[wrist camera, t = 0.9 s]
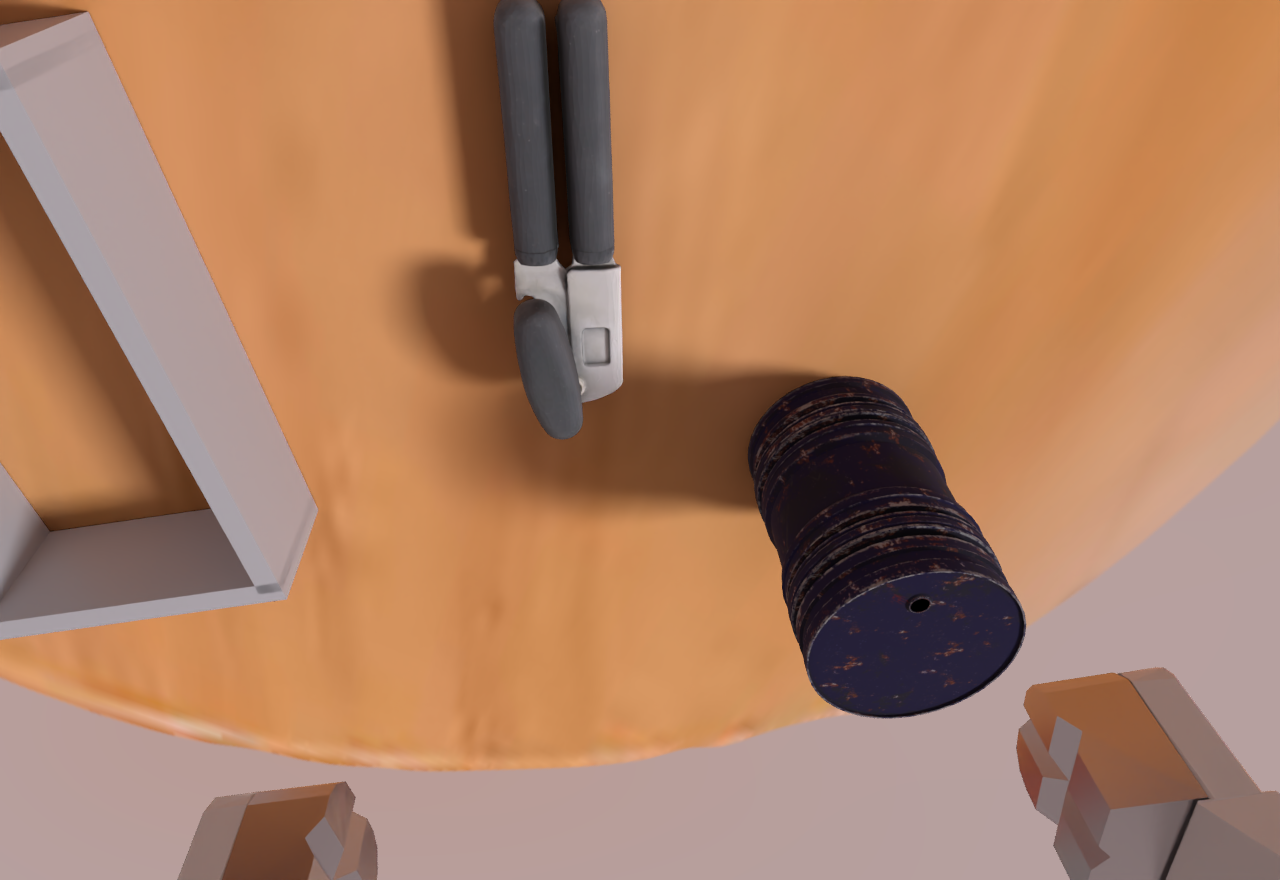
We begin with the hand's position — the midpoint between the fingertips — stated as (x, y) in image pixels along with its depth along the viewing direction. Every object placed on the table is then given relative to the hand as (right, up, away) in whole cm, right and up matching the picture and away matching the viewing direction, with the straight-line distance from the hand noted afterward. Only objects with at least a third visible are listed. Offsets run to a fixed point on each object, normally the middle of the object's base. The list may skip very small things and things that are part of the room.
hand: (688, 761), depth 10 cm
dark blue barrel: (+10, +4, +40) cm, 41 cm away
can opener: (-4, +15, +30) cm, 34 cm away
